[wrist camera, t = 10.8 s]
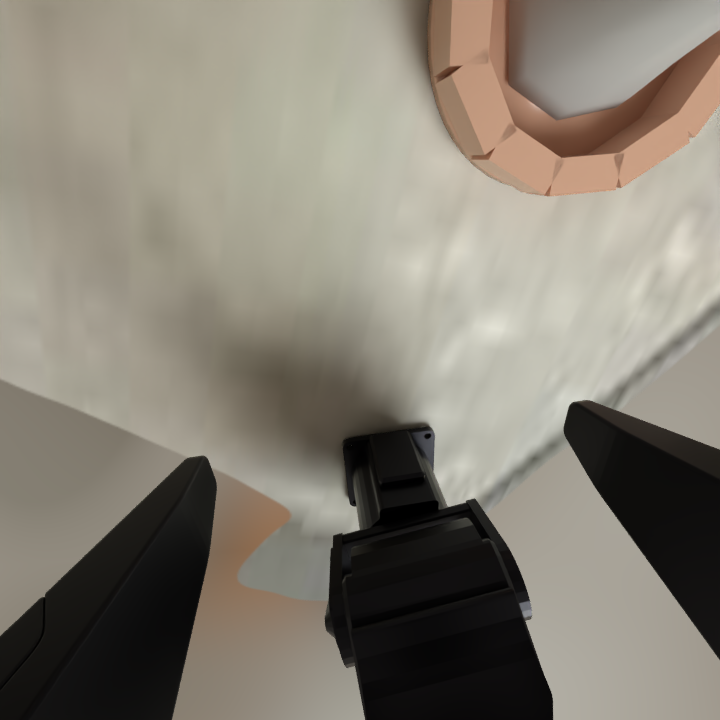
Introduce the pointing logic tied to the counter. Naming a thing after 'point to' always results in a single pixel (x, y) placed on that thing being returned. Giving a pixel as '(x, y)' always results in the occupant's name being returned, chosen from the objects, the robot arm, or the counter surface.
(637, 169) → the dish
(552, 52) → the flask
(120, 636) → the robot arm
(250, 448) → the counter surface
